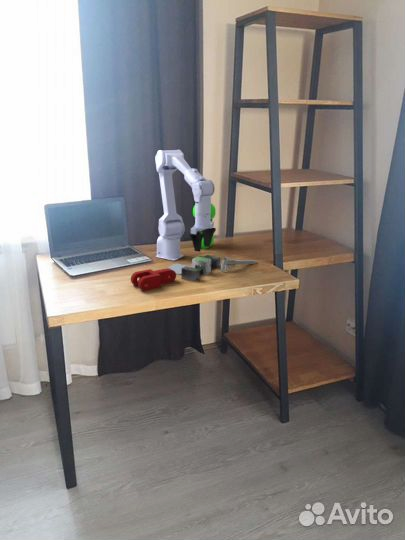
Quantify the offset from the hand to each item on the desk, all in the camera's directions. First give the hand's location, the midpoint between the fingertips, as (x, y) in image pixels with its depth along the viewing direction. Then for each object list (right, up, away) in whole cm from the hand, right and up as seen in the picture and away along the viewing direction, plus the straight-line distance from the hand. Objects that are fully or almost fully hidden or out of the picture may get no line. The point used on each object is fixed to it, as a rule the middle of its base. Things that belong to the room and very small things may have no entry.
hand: (202, 248), depth 172 cm
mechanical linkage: (-17, -14, -10) cm, 24 cm away
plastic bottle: (0, +2, +36) cm, 36 cm away
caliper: (+15, -7, +10) cm, 20 cm away
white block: (0, -9, +3) cm, 10 cm away
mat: (-10, -8, +6) cm, 14 cm away
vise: (0, -9, +3) cm, 10 cm away
